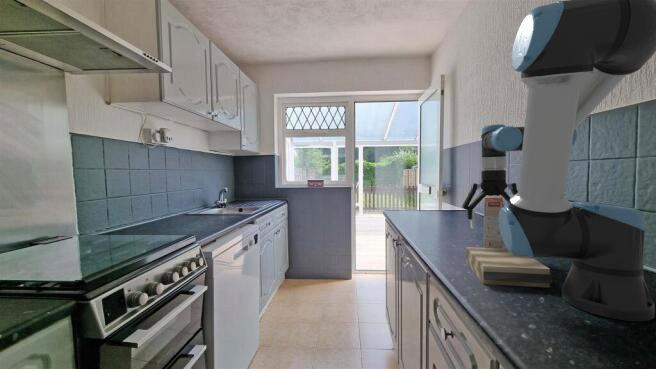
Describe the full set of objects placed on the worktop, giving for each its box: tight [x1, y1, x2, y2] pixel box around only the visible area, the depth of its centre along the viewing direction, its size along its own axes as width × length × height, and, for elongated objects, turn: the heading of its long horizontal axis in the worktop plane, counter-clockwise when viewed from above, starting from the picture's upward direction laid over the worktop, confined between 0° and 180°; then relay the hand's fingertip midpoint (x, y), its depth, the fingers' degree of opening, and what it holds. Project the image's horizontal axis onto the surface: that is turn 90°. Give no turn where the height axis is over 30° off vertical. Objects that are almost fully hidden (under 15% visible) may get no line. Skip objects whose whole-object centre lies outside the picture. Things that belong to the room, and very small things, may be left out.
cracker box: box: [483, 195, 505, 248], centre depth 103 cm, size 14×6×21 cm, turn 151°
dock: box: [465, 246, 553, 289], centre depth 86 cm, size 20×16×5 cm
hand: (493, 228), depth 103 cm, fingers open, 13 cm apart
